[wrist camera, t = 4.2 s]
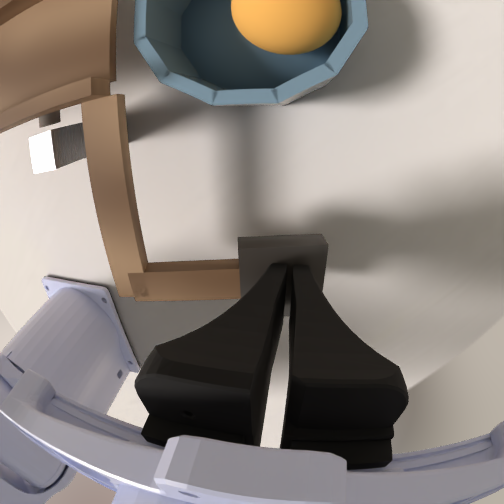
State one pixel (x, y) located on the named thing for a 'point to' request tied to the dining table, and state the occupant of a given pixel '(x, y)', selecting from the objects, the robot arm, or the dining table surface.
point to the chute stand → (57, 147)
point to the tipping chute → (118, 150)
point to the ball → (287, 23)
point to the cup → (235, 53)
